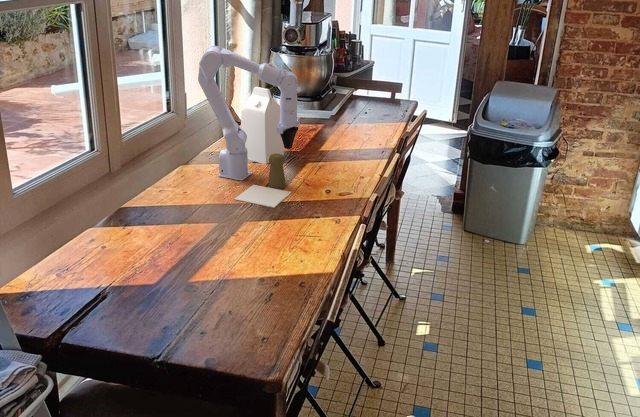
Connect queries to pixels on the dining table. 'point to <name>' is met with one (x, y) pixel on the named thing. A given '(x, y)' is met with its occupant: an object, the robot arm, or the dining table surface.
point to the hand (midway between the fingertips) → (288, 148)
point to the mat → (263, 196)
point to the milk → (261, 126)
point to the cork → (276, 171)
